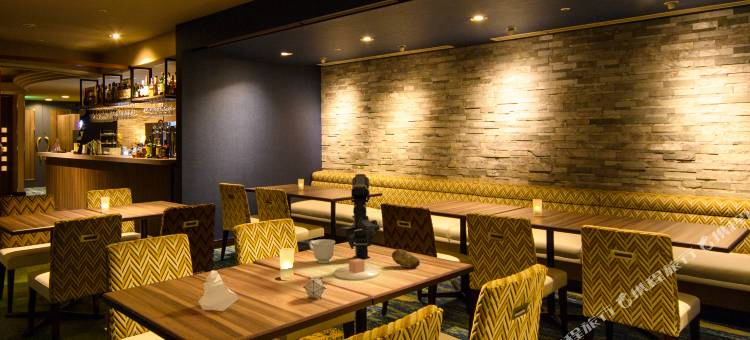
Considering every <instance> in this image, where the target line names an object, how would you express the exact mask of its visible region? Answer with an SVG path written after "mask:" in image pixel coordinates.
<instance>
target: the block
mask: <svg viewBox="0 0 750 340" xmlns="http://www.w3.org/2000/svg"><path fill="white" fill-rule="evenodd" d="M348 266H349V271H350V272H353V273H360V272H365V266H366V264H365V260H364V259H357V258H354V259H353V258H352V259H348Z"/></svg>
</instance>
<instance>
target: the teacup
mask: <svg viewBox="0 0 750 340" xmlns="http://www.w3.org/2000/svg"><path fill="white" fill-rule="evenodd" d="M335 244H336V241H335V240H334V239H322V238H321V239H316V240H310V241H309V242H308V246H309V248H310V250H312V252H313V256H314V259H315V260H317V264H327V263H330V260H331V259H332V258H333V257H334V248H335V247H334V246H335Z"/></svg>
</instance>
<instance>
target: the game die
mask: <svg viewBox="0 0 750 340" xmlns="http://www.w3.org/2000/svg"><path fill="white" fill-rule="evenodd" d="M322 279H323V276H321V277H320V278H310V277H309V276H308V281H307V283H306V285H305V286H303V287H302V288H303V289H305V291H306V295H307V300H309V299H310V298H314V299H315V298H318V299H320V300H322V295H323V293H324V291H325V290H327V289H328V288H327V287H326V286H325V285H324V283H323V280H322Z"/></svg>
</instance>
